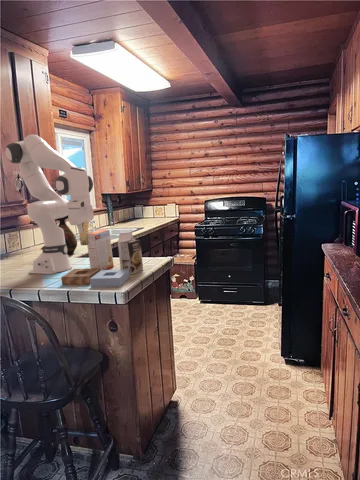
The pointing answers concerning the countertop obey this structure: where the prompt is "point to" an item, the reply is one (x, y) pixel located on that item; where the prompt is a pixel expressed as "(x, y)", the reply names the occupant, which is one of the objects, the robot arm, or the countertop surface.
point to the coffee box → (131, 256)
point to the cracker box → (100, 250)
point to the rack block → (79, 276)
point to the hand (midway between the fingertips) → (83, 231)
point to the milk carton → (123, 238)
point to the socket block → (110, 278)
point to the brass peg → (84, 234)
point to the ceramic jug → (68, 236)
